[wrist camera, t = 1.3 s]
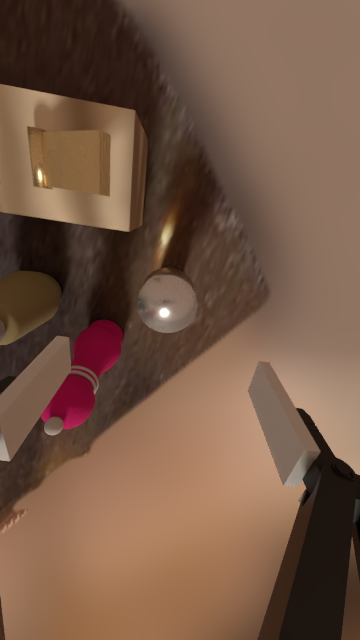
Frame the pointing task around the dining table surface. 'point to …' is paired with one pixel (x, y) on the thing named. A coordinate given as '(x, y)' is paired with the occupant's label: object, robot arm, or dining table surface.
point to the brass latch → (70, 160)
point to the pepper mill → (83, 376)
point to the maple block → (71, 115)
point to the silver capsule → (167, 300)
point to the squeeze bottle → (26, 303)
